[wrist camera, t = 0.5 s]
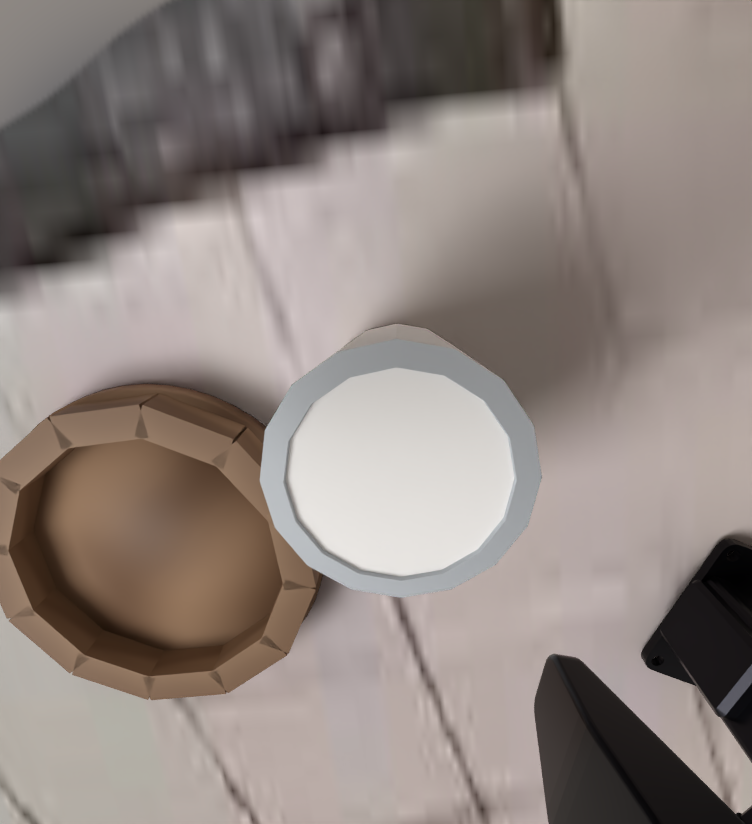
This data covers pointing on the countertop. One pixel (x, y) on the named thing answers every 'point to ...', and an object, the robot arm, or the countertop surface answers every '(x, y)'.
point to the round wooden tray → (149, 544)
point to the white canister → (400, 465)
